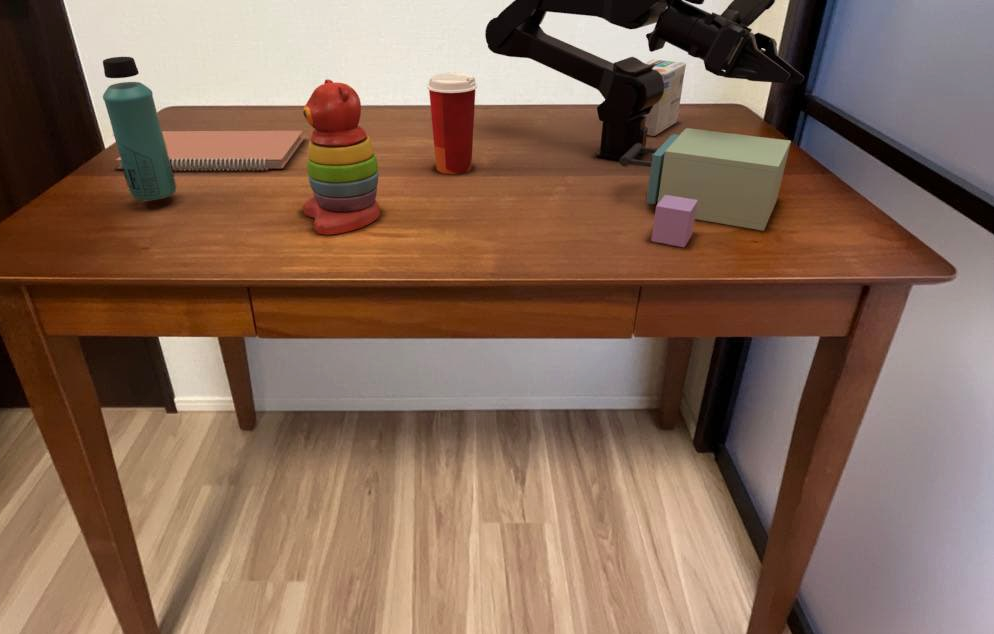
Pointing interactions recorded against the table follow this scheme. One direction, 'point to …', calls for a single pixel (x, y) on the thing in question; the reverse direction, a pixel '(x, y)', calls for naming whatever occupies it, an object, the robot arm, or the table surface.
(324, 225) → the stacking bear
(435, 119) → the paper cup
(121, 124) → the beverage bottle
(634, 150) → the drawer
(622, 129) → the robot arm
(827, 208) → the table surface
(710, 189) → the green drawer cabinet
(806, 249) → the table surface
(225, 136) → the notebook
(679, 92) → the light bulb box
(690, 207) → the mauve rounded cube
